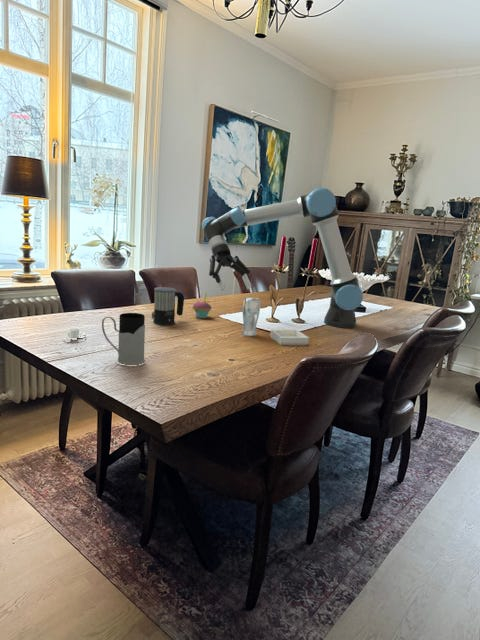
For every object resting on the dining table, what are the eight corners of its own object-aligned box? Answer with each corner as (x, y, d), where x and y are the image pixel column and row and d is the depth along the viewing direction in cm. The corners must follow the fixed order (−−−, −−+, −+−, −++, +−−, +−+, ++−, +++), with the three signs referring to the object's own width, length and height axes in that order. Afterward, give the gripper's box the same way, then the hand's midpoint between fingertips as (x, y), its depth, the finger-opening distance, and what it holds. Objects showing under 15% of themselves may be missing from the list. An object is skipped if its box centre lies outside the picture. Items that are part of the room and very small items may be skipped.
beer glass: (256, 337, 174) (259, 301, 171) (239, 335, 176) (242, 299, 172) (258, 333, 181) (261, 298, 178) (242, 331, 182) (245, 296, 179)
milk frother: (164, 326, 180) (166, 291, 177) (136, 319, 188) (137, 285, 185) (186, 321, 192) (187, 288, 189) (159, 314, 200) (160, 282, 197)
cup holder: (296, 336, 181) (297, 329, 180) (308, 345, 170) (309, 337, 170) (270, 336, 178) (271, 329, 177) (280, 345, 167) (281, 337, 166)
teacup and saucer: (82, 336, 160) (82, 325, 159) (92, 341, 154) (92, 330, 153) (58, 339, 154) (58, 328, 153) (68, 345, 148) (68, 334, 147)
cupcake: (214, 317, 204) (215, 292, 201) (203, 320, 196) (204, 294, 194) (199, 313, 208) (201, 289, 205) (188, 316, 201) (189, 291, 198)
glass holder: (138, 368, 131) (140, 320, 128) (95, 362, 134) (95, 314, 130) (149, 359, 140) (151, 314, 136) (108, 353, 142) (108, 309, 138)
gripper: (238, 254, 201) (255, 292, 193) (191, 253, 186) (207, 294, 178) (246, 243, 195) (264, 282, 187) (198, 241, 181) (215, 283, 172)
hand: (236, 288), depth 183 cm, fingers open, 13 cm apart
